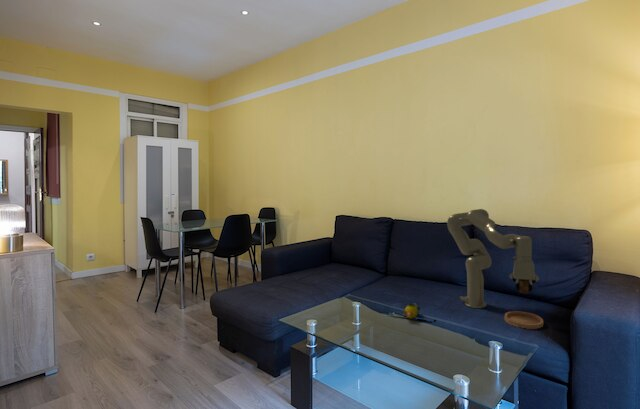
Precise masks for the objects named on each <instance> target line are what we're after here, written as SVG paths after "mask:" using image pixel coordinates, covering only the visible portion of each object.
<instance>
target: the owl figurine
mask: <svg viewBox="0 0 640 409" xmlns="http://www.w3.org/2000/svg"><path fill="white" fill-rule="evenodd" d="M421 310H422V309H421V306H420V305H417V303H415V302H414V303H408V304H407V306H405V307H404V311H403V315H406V317H403V316H390V314H392V312H389V313H388V315H387V317H391V318H392V317H394V318H395V317H396V318H401V319H402V318H403V319H410V320H416V321H418V320H417V319H414V317H416V316H417V317H418V314H419V311H421Z"/></svg>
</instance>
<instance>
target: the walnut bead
mask: <svg viewBox="0 0 640 409" xmlns="http://www.w3.org/2000/svg"><path fill="white" fill-rule="evenodd" d="M518 283H519V291H518V293H521V294H527V295H528V294H529V293H530V292H529V283H530V282H529V280H522V279H519V281H518Z"/></svg>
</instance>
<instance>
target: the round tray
mask: <svg viewBox="0 0 640 409" xmlns="http://www.w3.org/2000/svg"><path fill="white" fill-rule="evenodd" d="M503 318H504V319H503V320H504V321H505V323H507V324H509V325H510V326H512V325H513V327H515V326H516V328H519V327H521V328H520V329H524V328H526V329H525V330H539V329H542V328H543V327H544V326H543V325H544V319H543V318H542V317H541V316H540V315H537V314H535V313H531V312H529V311H528V312H527V311H520V310H513V311H511V310H510V311H508V312H505V313H504V317H503ZM541 327H542V328H541ZM538 328H539V329H538Z"/></svg>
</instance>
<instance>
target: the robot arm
mask: <svg viewBox="0 0 640 409" xmlns="http://www.w3.org/2000/svg"><path fill="white" fill-rule="evenodd" d="M470 225H473V226H475V227H476V228H478V229H479V230H480V231H482V232H484V234H485V237H486V238H487V240H488V241H489V242H490V243H492V244H494V245H495V246H496V247H498V248H499V249H502V250H507V249H511V248H512V249H513V248H515V255H513V256H512V258H513V259H514V261H513V271H512V272H511V273H510V274H509V275H508V278H509V279H511V280H512V281H513V282H514V283H515V289H516V291H517V292H519V279H522V280H529V293H531V291H533V285H534V284H535V283H536V282H538V281H540V277H539V276H538V275H537V274H536V272H535V271H536V270H535V263H534V261H533V260H532V254H533V252H532V251H533V250H532V249H533V246H532V245H533V242H532V237H530V236H527V235H519V234H516V233H508V234H504V235H503V234H502V233H500V232H499V231H498V230H497V229H495V227H496V223H495V221H494V220H493V219H491V218H490V215H489V212H488V211H487V210H485V209H483V208H478V209H472V210H469V211H467V212H459V213H455V214H452V215H450V216H449V217H448V218H447V221H446V226H447V230H448V232H449V233H450V234H451V236H452V237H453V239H454V241H455V243H456V245H457V247H458V249H459V250H460V252H461V254H462V255H464V256H468V257H467V258H466V260H465V269H466V284H467V286H466V287H467V288H466V290H467V292H466V293H467V295H466V296H461V295H460V296H459V300H461V301H464V305H465V306H466V307H469V308H473V309H484V308H487V302H485V301H484V299H485V297H484V296H485V294H484V293H485V292H484V291H485V290H484V289H485V288H484V284H485V279H484V278H485V277H484V274H483V271H482V270H487V269H488V268H490V267H491V266H492V263H493V262H492V258H491V256H490V254H489V252H488V251H487V249H486V247H485V245H484V243H483V242H482V241H480V240H479V239H477V238H470V236H469V235H468V233H467V232H466V230H465V229H463V228H462V227H464V226H470ZM469 255H470V256H469Z"/></svg>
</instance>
